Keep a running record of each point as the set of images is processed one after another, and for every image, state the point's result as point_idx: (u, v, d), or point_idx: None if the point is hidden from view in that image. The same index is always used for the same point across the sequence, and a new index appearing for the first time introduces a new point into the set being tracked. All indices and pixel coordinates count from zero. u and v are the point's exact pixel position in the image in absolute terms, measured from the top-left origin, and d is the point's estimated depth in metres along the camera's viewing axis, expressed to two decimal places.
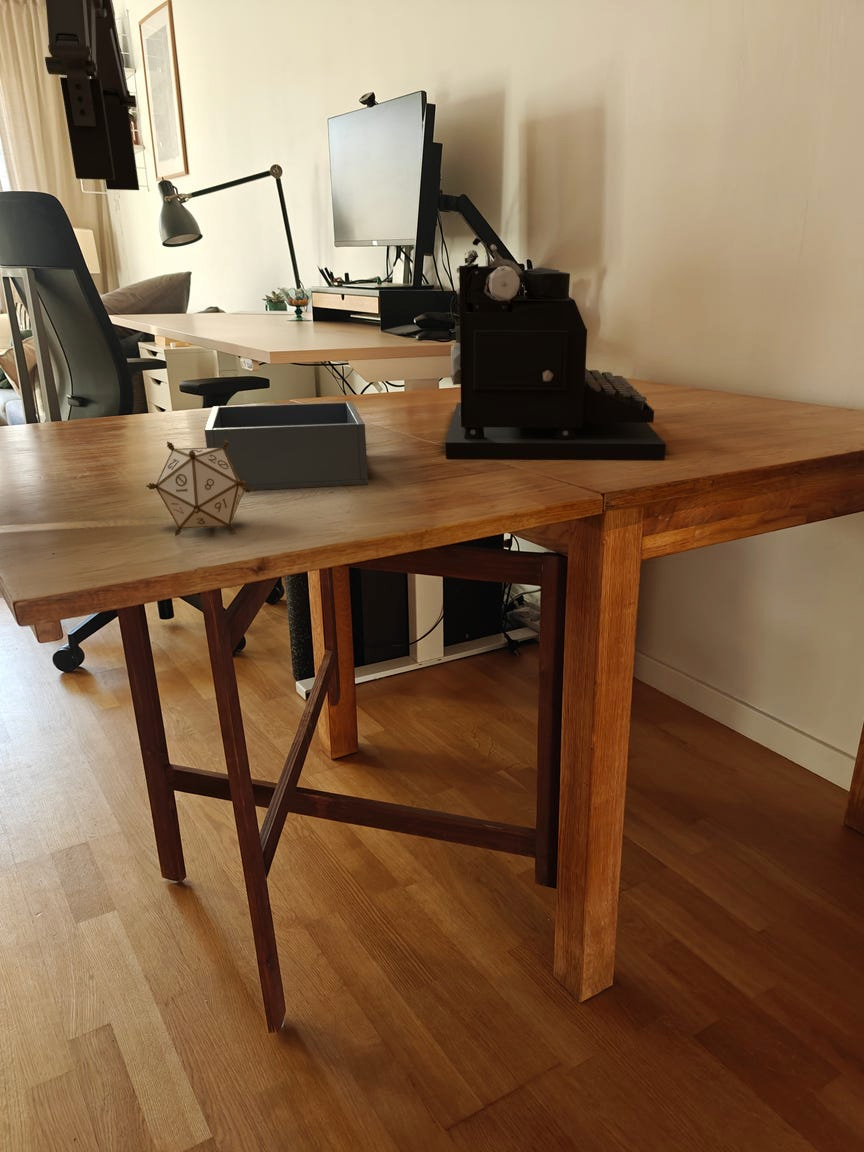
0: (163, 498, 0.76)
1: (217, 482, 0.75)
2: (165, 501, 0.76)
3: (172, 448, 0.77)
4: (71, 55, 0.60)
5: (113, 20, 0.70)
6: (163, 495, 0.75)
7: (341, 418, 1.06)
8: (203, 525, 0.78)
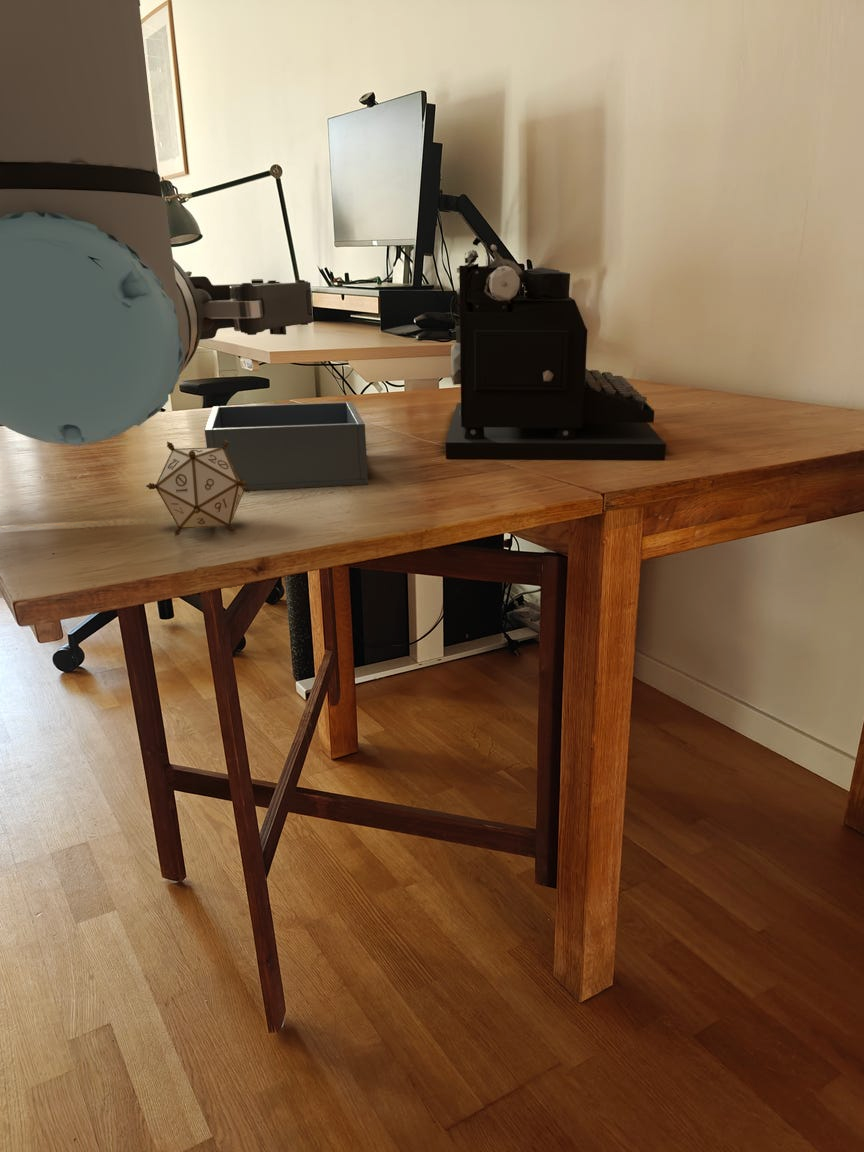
0: (163, 498, 0.76)
1: (217, 482, 0.75)
2: (165, 501, 0.76)
3: (172, 448, 0.77)
4: None
5: None
6: (163, 495, 0.75)
7: (341, 418, 1.06)
8: (203, 525, 0.78)
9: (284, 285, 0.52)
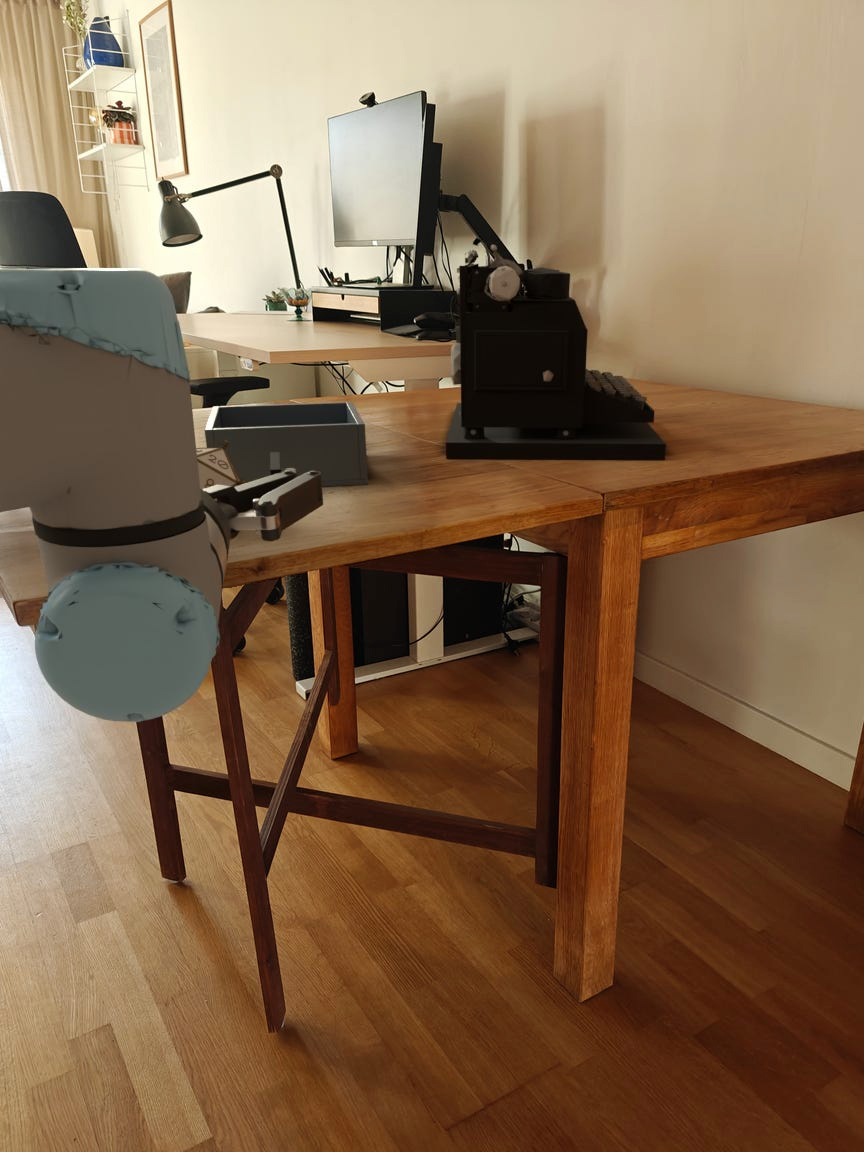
0: None
1: (217, 482, 0.75)
2: None
3: None
4: None
5: None
6: None
7: (341, 418, 1.06)
8: None
9: (298, 487, 0.61)
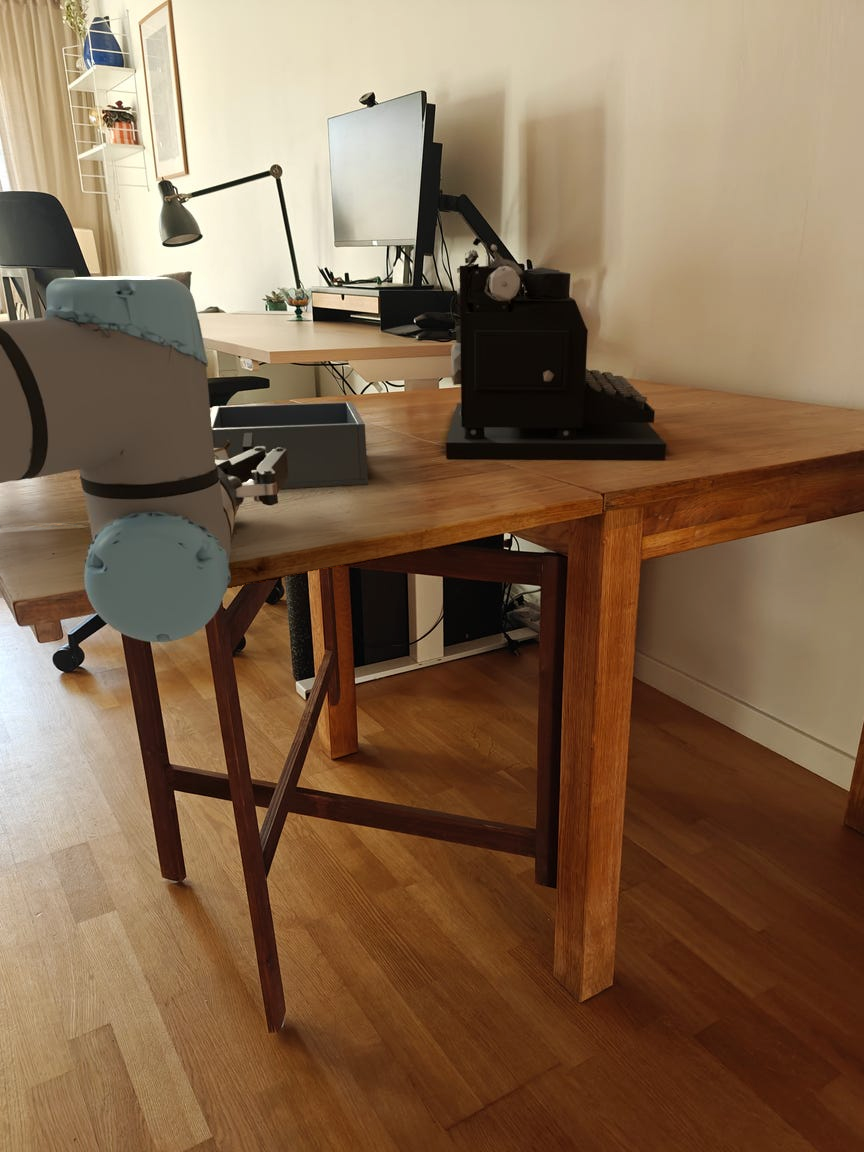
0: None
1: None
2: None
3: None
4: None
5: None
6: None
7: (341, 418, 1.06)
8: None
9: (278, 460, 0.71)
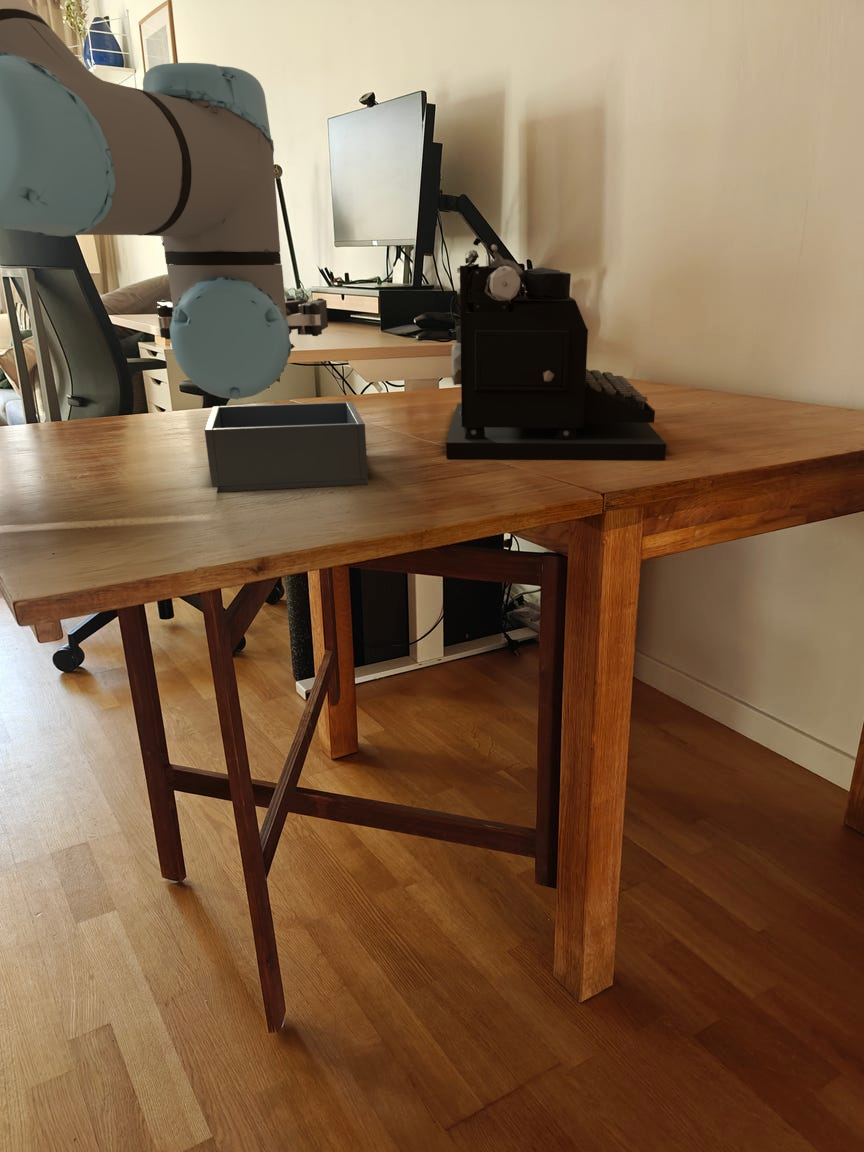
0: None
1: None
2: None
3: None
4: None
5: None
6: None
7: (341, 418, 1.06)
8: None
9: (320, 303, 0.79)
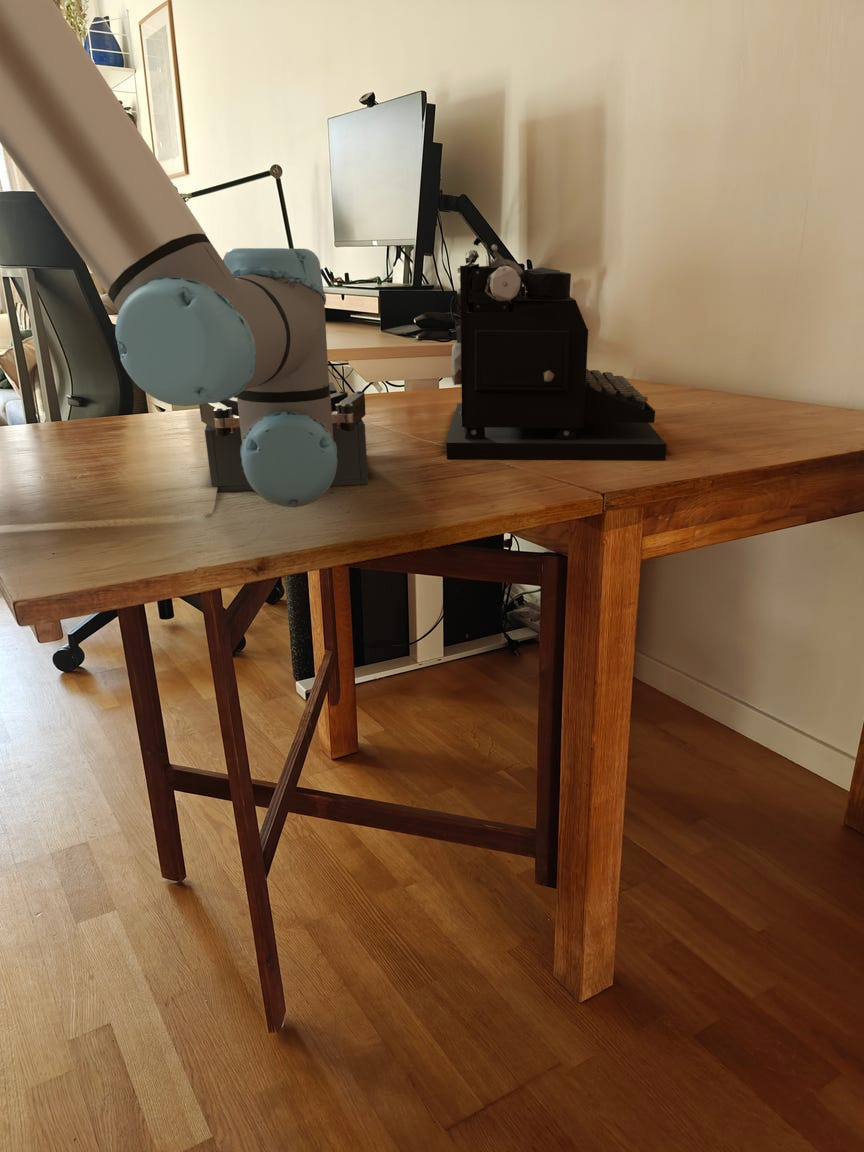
0: None
1: None
2: None
3: None
4: None
5: None
6: None
7: None
8: None
9: (357, 398, 0.92)
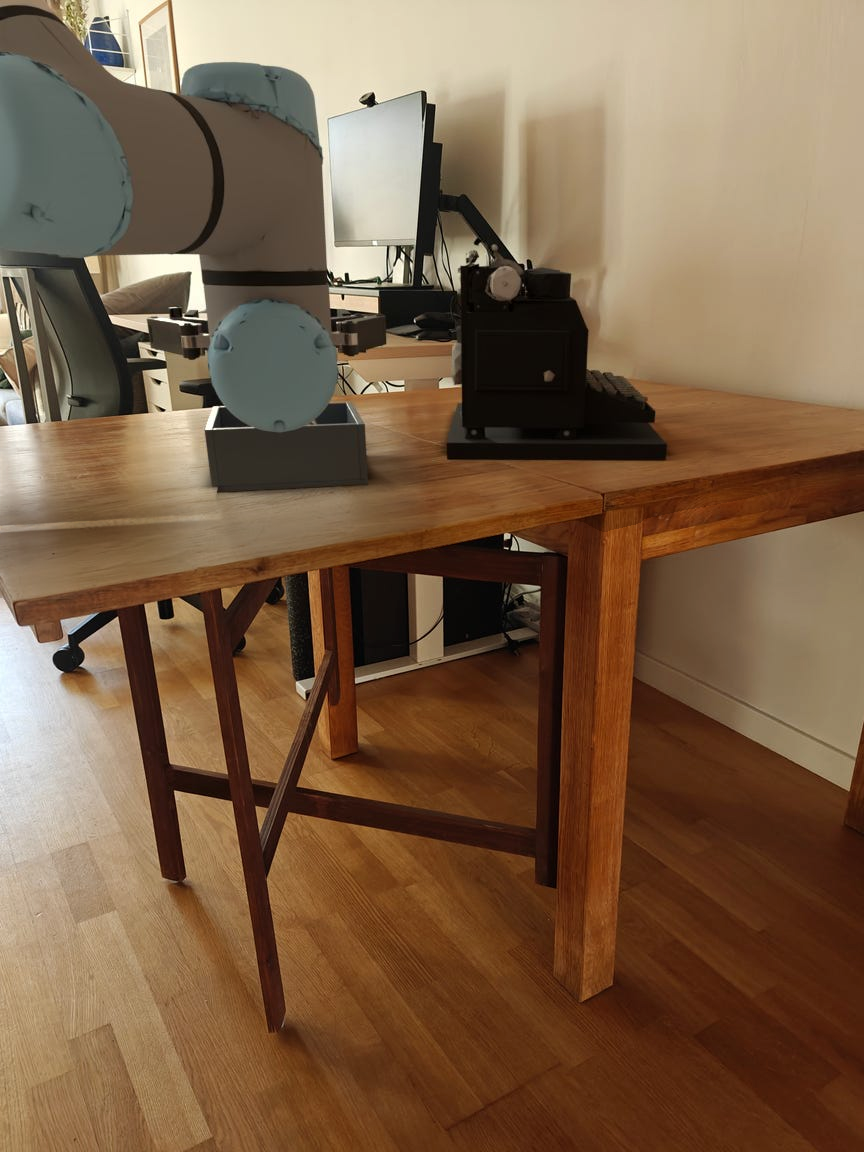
0: None
1: None
2: None
3: None
4: None
5: None
6: None
7: (341, 418, 1.06)
8: None
9: (370, 319, 0.73)
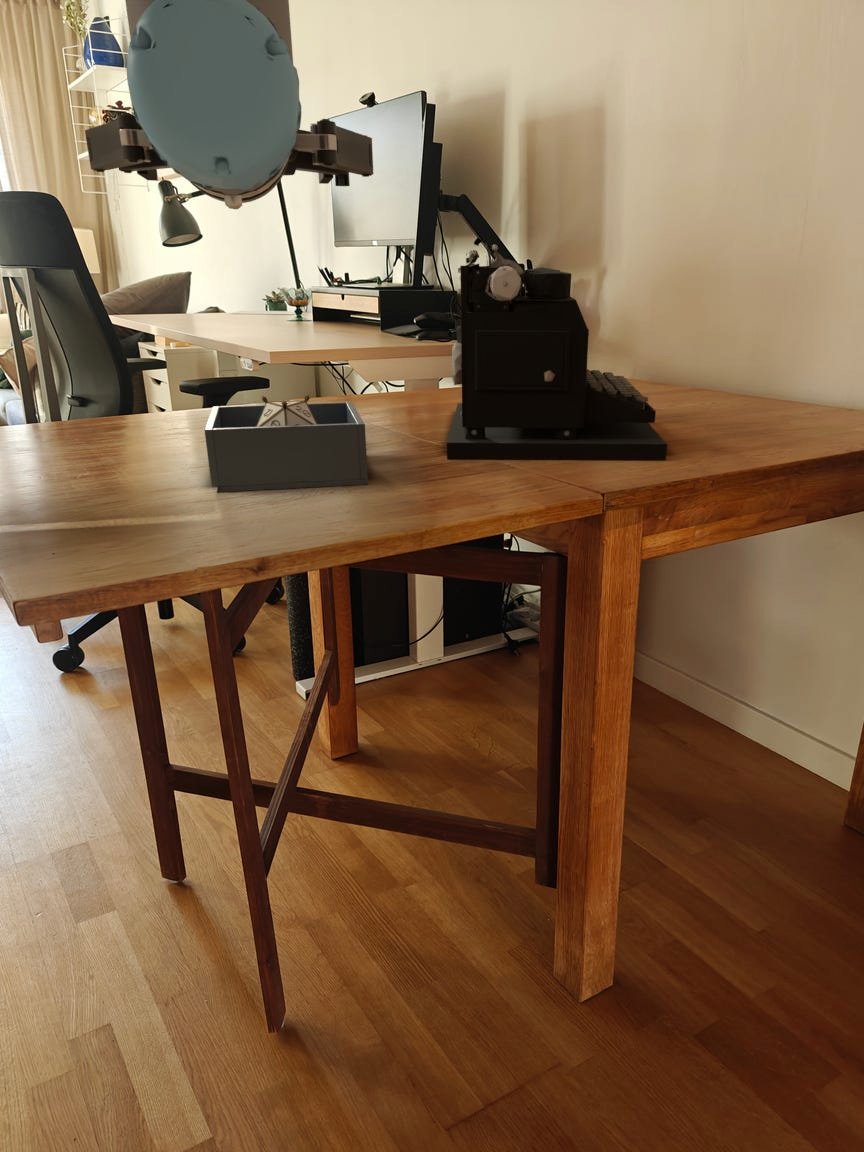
0: None
1: None
2: None
3: (266, 401, 0.98)
4: None
5: None
6: None
7: (341, 418, 1.06)
8: None
9: (352, 132, 0.61)
